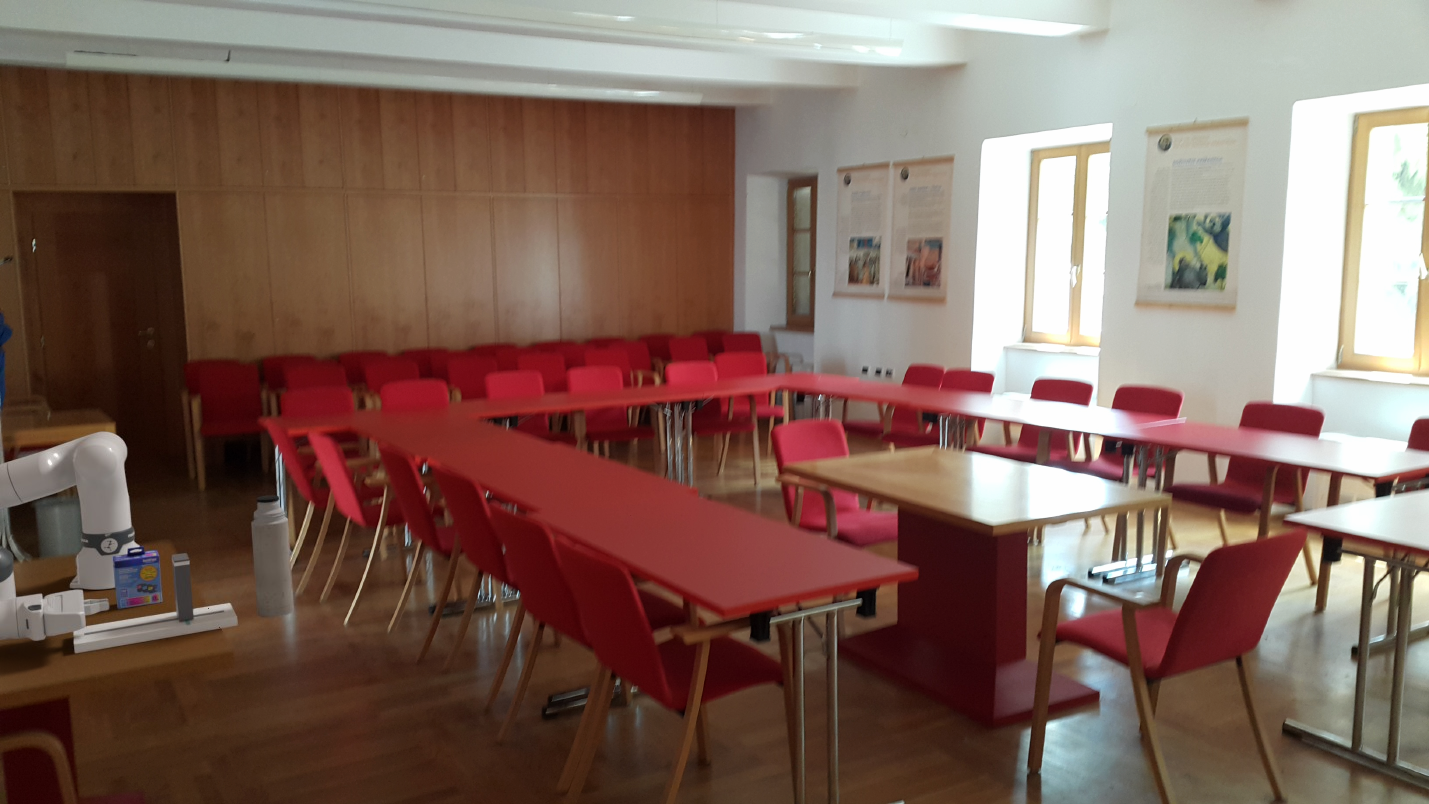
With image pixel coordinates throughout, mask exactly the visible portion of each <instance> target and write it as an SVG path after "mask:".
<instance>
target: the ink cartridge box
mask: <svg viewBox="0 0 1429 804" xmlns="http://www.w3.org/2000/svg"><path fill="white" fill-rule="evenodd" d="M136 549H141V551H137V552H130V551H132V550H136ZM160 563H161V562H160V555H159V552H158V550H147V551H145V546H144V545H143V546H140V547H134V548H128V551H127V554H124V555H118V556H113V569H114V581H115V588H114V590H115V591H114V592H115V598H116V604H117V606H116V607H117V610H121V609H127V608H133V607H140V606H146V605H153V604H161V603H162V602H163V593H162V581H161V580H162V579H161V567H160V565H161V564H160ZM160 602H161V603H160Z"/></svg>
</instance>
